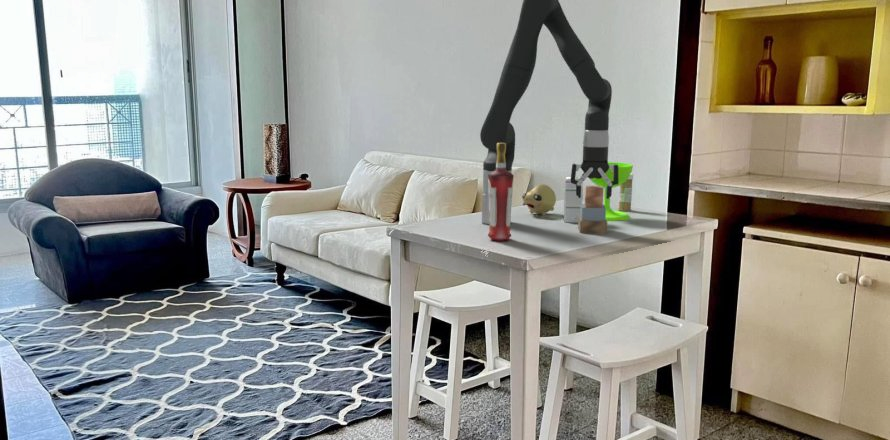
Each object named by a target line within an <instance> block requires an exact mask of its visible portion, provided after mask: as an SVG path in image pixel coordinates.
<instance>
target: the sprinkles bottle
mask: <svg viewBox="0 0 890 440" xmlns="http://www.w3.org/2000/svg"><path fill="white" fill-rule="evenodd" d="M633 179H634V173H631V174H630V176H629V178H628V179H627V180H626V181H625V182H624V183H623V184H621V185H620V186H619V192H618V193H619V194H618V195H619V196H618V208H617V211H620V212H630V211H632V196H633Z"/></svg>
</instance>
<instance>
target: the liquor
mask: <svg viewBox="0 0 890 440" xmlns="http://www.w3.org/2000/svg"><path fill="white" fill-rule="evenodd" d="M505 151H506V143H497V162H496V170H495V171H493V172H491V173H490V174H489V175H488V195H489V224H488V226H489V228H488V229H489V232H488V234H487V236H488V237H489V238H490V239H491V241H493V240H494V241H493V242H506V241H508V240H509V239H510V238H511V237H512V234H511V222H510V220H512V219H511V218H512V216H511V215H512V203H513V189H514V176H515V175H514V174H513V172H512V173H510V172H508V171H506V161H505Z"/></svg>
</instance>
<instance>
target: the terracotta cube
mask: <svg viewBox="0 0 890 440" xmlns="http://www.w3.org/2000/svg"><path fill="white" fill-rule="evenodd" d="M584 189H585V191H584V194H585V195H584V204H585V206H586V207H596V208H603V205H604V190H605V188H603V187H602V186H598V185H585V188H584Z"/></svg>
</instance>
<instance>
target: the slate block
mask: <svg viewBox="0 0 890 440" xmlns="http://www.w3.org/2000/svg"><path fill="white" fill-rule="evenodd" d="M605 218H606V207H605V205H604V204H603V208H596V207H586V206H585V203H582V204H581V219H582V221H605Z"/></svg>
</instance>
